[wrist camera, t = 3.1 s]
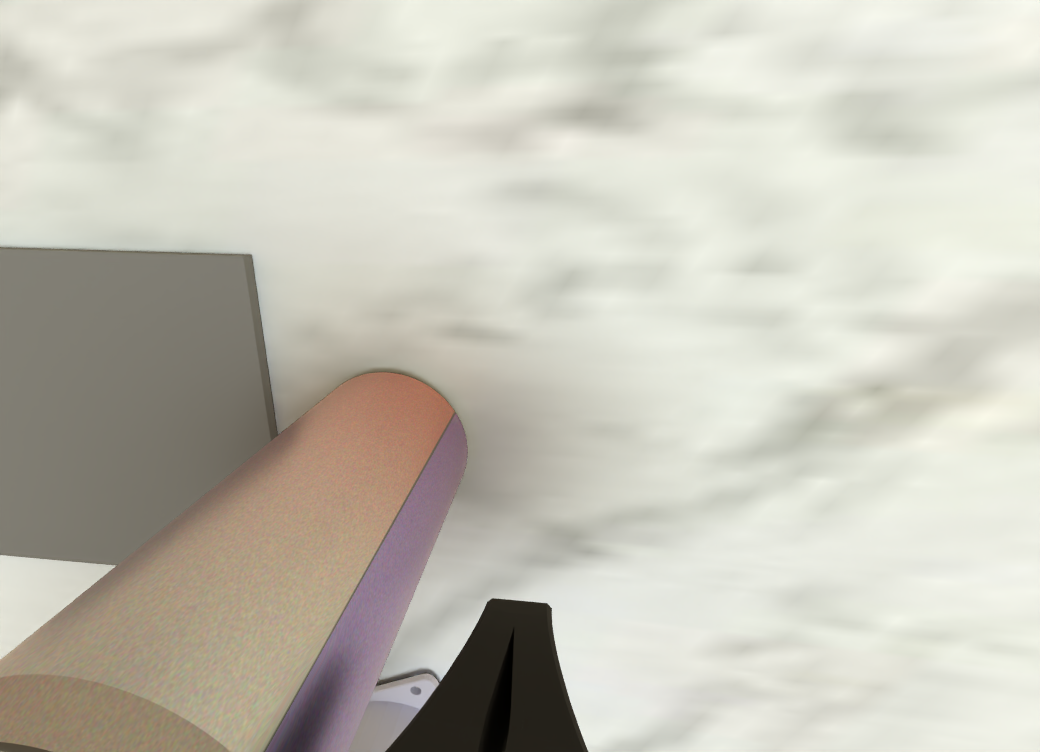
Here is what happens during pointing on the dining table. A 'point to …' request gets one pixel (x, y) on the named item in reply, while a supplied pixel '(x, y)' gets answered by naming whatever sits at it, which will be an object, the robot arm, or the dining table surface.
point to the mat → (122, 394)
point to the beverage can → (254, 594)
